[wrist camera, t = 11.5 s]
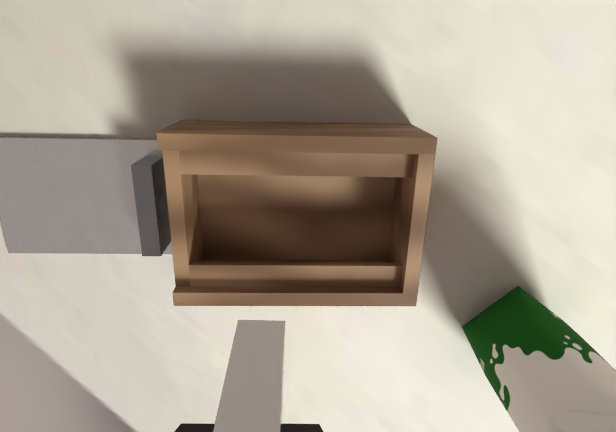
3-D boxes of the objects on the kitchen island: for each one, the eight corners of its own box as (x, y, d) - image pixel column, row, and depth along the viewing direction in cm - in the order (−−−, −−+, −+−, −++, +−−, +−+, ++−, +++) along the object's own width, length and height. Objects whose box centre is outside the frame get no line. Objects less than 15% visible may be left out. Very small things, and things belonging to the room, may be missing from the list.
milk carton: (565, 326, 45) (762, 519, 26) (495, 375, 46) (631, 586, 28) (520, 274, 42) (701, 443, 23) (448, 327, 44) (562, 523, 25)
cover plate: (-13, 135, 36) (-52, 144, 32) (184, 138, 37) (170, 148, 33) (14, 248, 40) (-18, 269, 36) (193, 249, 41) (182, 270, 37)
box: (181, 120, 36) (156, 133, 29) (411, 124, 37) (437, 137, 30) (193, 266, 41) (173, 305, 34) (396, 267, 41) (415, 306, 35)
